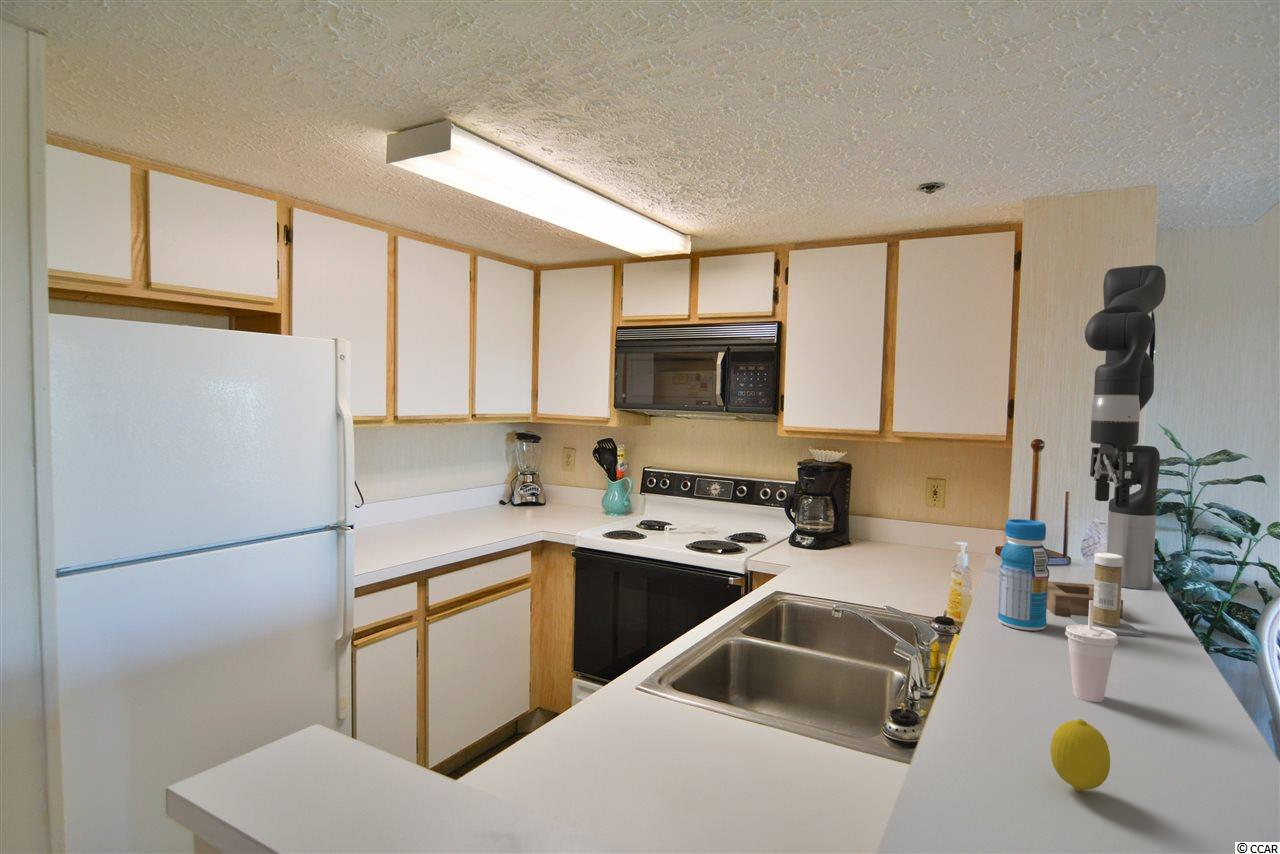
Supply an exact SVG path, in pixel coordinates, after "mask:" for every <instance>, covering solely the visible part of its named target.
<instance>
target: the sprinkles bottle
mask: <svg viewBox="0 0 1280 854" xmlns="http://www.w3.org/2000/svg"><path fill="white" fill-rule="evenodd" d="M1093 561H1094V568H1095V569H1094V579H1093V581H1094V582H1093V585H1094V598H1093V601H1094V608H1093V622H1094V623H1096V624H1099V625H1102V626H1108V627H1118V626H1120V609H1121V600H1122V587H1121V575H1122V574H1121V573H1122V566H1123V557H1122V556H1120V555H1117V554H1111V553H1107V552H1097V553H1095V554H1094V559H1093Z"/></svg>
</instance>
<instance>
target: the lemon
mask: <svg viewBox="0 0 1280 854" xmlns="http://www.w3.org/2000/svg"><path fill="white" fill-rule="evenodd" d="M1050 758H1051V762H1052V765H1053V768H1054V770H1055V772H1056V773H1057V775H1059V777H1060V778H1061V779H1062V781H1064V782H1065V783H1066V784H1068V785H1070V786H1071V787H1072V788H1073V789H1074V791H1076V792H1078V793H1079V792H1083V791H1085V790H1092V789H1096V788H1098V787H1100V786H1101V785H1103V783H1104V782H1105V781H1106V780H1107V778H1108V777H1109V774H1110V769H1111V755H1110V749H1109V746H1108V743H1107V740H1106V739H1105V736H1104V735H1103V734H1102V733H1101V732H1100V731H1099V730H1098V729H1097V728H1095V727H1094V725H1093V724H1090V723H1088V722H1087V721H1086V720H1085V719H1082V718H1078V719H1076V720H1069V721H1065V722H1064V723H1062V724H1060V725H1059V726H1058V727H1057V728H1056V729H1055V731H1054V733H1053V736H1052V738H1051V742H1050Z"/></svg>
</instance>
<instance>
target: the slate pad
mask: <svg viewBox="0 0 1280 854" xmlns="http://www.w3.org/2000/svg"><path fill="white" fill-rule="evenodd" d="M1088 617H1089V616H1079V615H1071V616H1070V619H1072V621H1074V622H1075V624H1080V625H1088ZM1093 626H1096V627H1100V628H1104V629H1107V630H1110V631H1112V632H1114V633H1115V634H1116V635H1117V636H1125V637H1127V636H1128V637H1135V638H1136V637H1139V638H1144V637H1145V636H1144V635H1145V634H1144V633H1143V632H1142V631H1140V630H1138V628H1136V627H1134V626H1133V625H1131V624H1130V623H1128V622H1127V621H1126V620H1124V619H1123V618H1122V619H1120V626H1118V627H1108V626H1102V625H1099V624H1096V623H1094V622H1093Z"/></svg>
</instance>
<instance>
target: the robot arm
mask: <svg viewBox="0 0 1280 854" xmlns="http://www.w3.org/2000/svg"><path fill="white" fill-rule="evenodd" d="M1166 282H1167V280H1166V273H1165V270H1164V269H1163V267H1161V266H1160V265H1158V264H1157V265H1156V264H1155V265H1154V264H1146V265H1134V266H1122V267H1114V268H1110V269H1108V270H1107V271H1106V273H1105V275H1104V279H1103V283H1102V284H1103V286H1102V288H1103V289H1102V290H1103V291H1102V292H1103V308H1104V309H1102V310H1100V311H1098V312H1096V313H1095V314H1094V315H1092V317H1091V318H1090V319H1089V320H1088V322H1087V324H1086V326H1085V330H1084V338H1085V339H1084V340H1085V342H1086V344H1087V345H1088V347H1089V348H1090V349H1093V350H1094V351H1098V352H1105V363H1104V364H1100V365H1098V366H1097V367H1096V368H1095V372H1094V384H1093V385H1094V389H1093V400H1092V405H1091V417H1090V418H1091V419H1090V423H1091V424H1090V440H1089V441H1090V443H1092V444H1096V445H1099V447H1098V446H1097V447H1096V446H1094V447H1093V446H1092V448H1091V456H1090V457H1091V458H1090V471H1089V477H1091V478H1093V481H1094V482H1095V490H1094V500H1095V501H1098V502H1108V516H1107V517H1108V518H1107V535H1106V536H1107V537H1106V539H1107V541H1106V553H1111V554H1117V555H1120V556H1122V557H1123V566H1122V573H1121V574H1122V575H1121V588H1128V589H1137V590H1139V589H1140V590H1149V589H1152V588H1153V585H1154V584H1153V583H1154V582H1153V581H1154V579H1153V578H1154V567H1155V564H1154V563H1155V549H1156V546H1155V544H1156V525H1157V524H1156V523H1157V520H1156V519H1157V497H1158V496H1157V494H1158V484H1159V474H1160V467H1161V456H1160V451H1159V449H1158V448H1157V447H1156V446H1153V445H1139V444H1138V443H1139V439H1140V437H1139V434H1140V433H1139V432H1140V417H1141V416H1140V415H1141V411H1142V410H1143V408H1145V406H1146V405H1147V404H1148V403H1149V401H1150V400H1151V398H1152V397H1153V394H1154V390H1155V388H1154V387H1155V365H1154V362H1153V360H1152V358H1151V357H1150V355H1149V354H1148V353H1147V350H1148V348H1149V346H1150V343H1151V341H1152V338H1153V334H1154V331H1155V322H1154V320H1153V319H1152V317H1151V316H1150V315H1149V314H1151V312H1153V311H1154V310H1155V309H1156V308H1157V307H1159V306H1160V305H1161V304H1162V302H1163V300H1164V297H1165V295H1166V289H1167V288H1166V287H1167V285H1166ZM1111 483H1113V484H1114V490H1113V491H1114V492H1113V494H1114V495H1113V498H1111V499H1110V487H1111V486H1110V485H1111ZM1137 485H1140V488H1139V490H1137V491H1135V492H1133V493H1130V492H1131V491H1130V488H1132V487H1133V486H1137Z"/></svg>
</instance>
